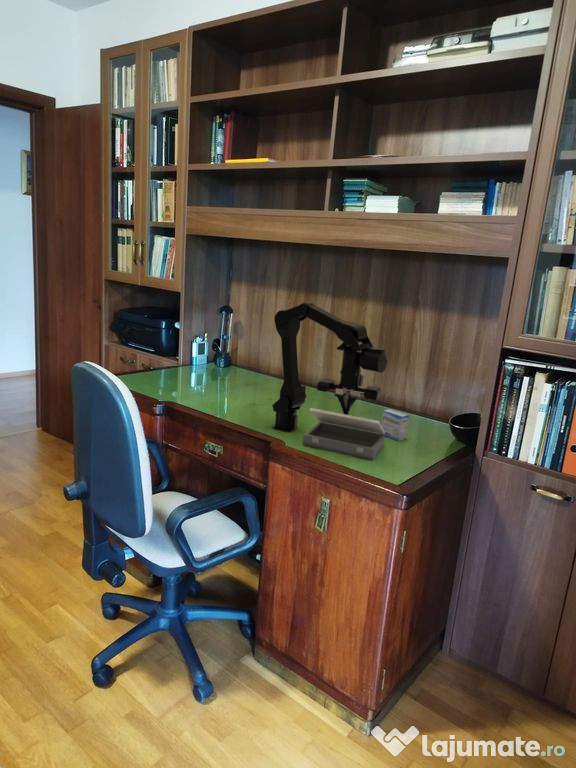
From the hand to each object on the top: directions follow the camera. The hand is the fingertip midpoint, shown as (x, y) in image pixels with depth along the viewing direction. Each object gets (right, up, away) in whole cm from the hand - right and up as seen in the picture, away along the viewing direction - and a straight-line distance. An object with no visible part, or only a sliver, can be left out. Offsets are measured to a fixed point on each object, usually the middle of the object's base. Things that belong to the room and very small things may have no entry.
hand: (346, 416), depth 162 cm
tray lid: (+1, -2, +4) cm, 4 cm away
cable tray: (0, -9, +4) cm, 10 cm away
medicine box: (+17, -8, +16) cm, 25 cm away
